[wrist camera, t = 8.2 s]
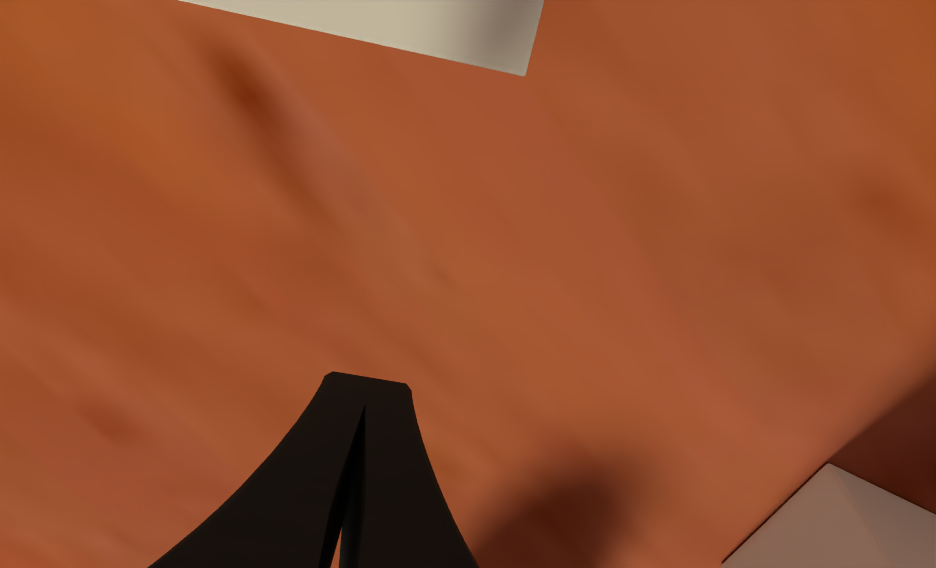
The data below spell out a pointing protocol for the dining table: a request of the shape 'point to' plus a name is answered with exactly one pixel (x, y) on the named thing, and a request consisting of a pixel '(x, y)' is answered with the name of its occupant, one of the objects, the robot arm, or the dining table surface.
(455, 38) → the cream square platform
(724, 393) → the dining table surface
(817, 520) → the milk
